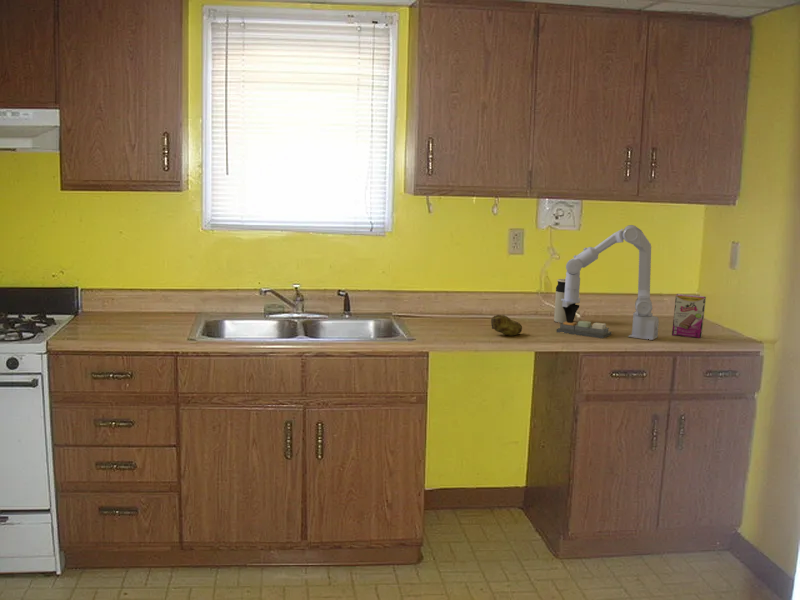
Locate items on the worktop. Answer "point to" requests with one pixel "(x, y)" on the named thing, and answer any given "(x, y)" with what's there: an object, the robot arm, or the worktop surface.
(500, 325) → the potato
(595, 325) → the button cream
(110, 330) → the worktop surface
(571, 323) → the button orange
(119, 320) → the worktop surface
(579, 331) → the panel
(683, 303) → the candy bar box
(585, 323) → the button sage
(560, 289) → the travel mug
